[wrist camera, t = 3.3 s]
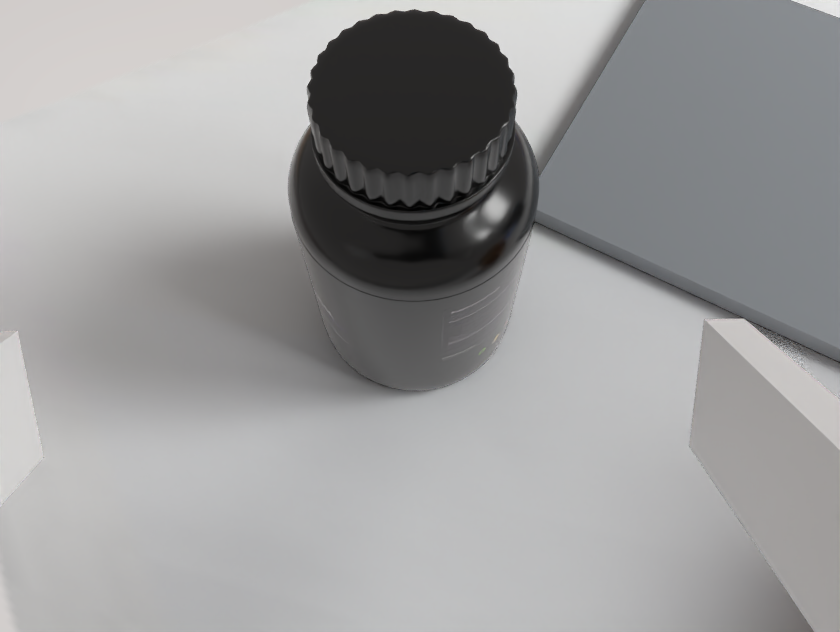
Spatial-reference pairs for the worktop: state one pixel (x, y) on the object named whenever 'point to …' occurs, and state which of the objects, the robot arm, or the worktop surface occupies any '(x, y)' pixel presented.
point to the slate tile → (715, 160)
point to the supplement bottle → (413, 197)
